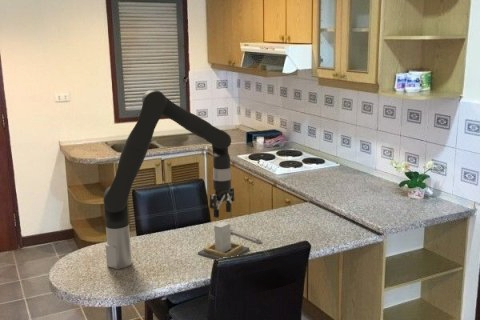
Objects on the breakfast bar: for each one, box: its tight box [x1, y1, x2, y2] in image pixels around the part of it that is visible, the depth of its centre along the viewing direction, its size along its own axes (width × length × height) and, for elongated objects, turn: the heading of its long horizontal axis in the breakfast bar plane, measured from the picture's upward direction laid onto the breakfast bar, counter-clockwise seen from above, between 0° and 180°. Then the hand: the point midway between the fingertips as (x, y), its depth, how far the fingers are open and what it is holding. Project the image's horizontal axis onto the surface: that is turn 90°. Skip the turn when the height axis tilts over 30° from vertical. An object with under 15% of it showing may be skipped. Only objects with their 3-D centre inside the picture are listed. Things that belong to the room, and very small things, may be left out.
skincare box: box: [214, 221, 232, 253], centre depth 224 cm, size 6×4×12 cm
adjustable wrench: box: [230, 226, 262, 244], centre depth 243 cm, size 25×6×2 cm, turn 40°
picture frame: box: [197, 241, 250, 260], centre depth 226 cm, size 16×16×2 cm
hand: (222, 214), depth 222 cm, fingers open, 8 cm apart
